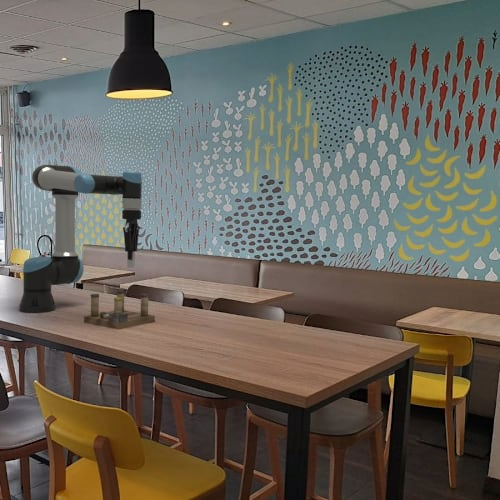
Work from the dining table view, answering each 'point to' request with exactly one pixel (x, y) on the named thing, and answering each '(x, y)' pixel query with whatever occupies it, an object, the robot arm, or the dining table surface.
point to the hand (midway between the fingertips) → (131, 267)
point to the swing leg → (116, 308)
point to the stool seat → (119, 319)
